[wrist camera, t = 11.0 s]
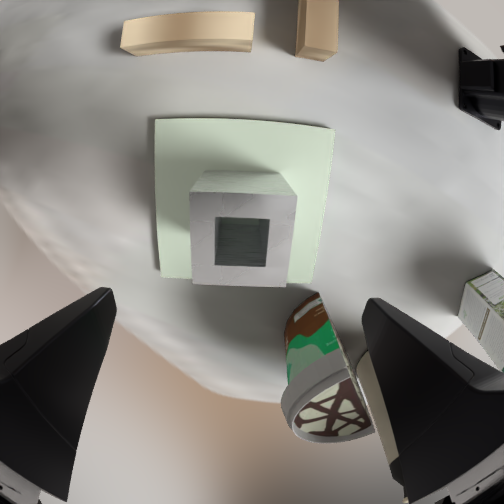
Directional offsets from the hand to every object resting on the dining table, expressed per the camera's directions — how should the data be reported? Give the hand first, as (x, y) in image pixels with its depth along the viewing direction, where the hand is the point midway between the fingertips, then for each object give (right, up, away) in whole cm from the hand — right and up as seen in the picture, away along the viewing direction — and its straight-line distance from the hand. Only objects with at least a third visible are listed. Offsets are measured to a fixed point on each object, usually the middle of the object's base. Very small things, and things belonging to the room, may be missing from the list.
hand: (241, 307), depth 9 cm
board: (-1, +5, +11) cm, 12 cm away
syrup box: (+28, -3, +16) cm, 32 cm away
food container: (+6, -7, +17) cm, 19 cm away
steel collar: (0, +5, +10) cm, 11 cm away
